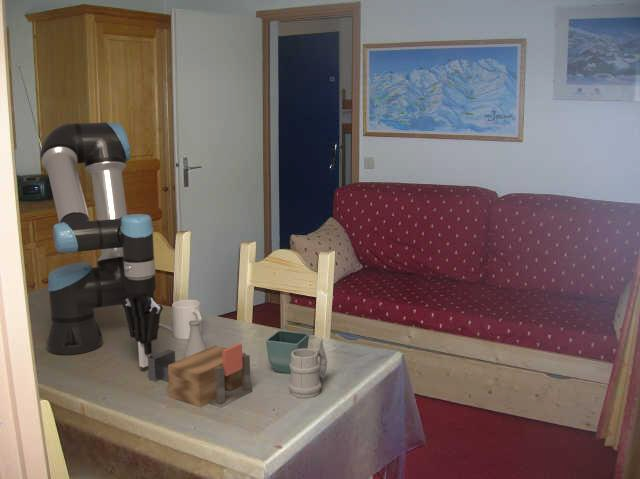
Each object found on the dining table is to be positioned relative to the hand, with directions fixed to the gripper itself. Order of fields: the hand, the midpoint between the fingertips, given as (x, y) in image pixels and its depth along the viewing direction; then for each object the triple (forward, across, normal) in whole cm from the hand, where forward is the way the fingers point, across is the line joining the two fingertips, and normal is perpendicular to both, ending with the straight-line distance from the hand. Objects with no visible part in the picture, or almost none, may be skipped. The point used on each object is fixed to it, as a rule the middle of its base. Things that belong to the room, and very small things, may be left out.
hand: (145, 365), depth 179 cm
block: (+2, +24, 0) cm, 24 cm away
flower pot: (+2, +30, +21) cm, 37 cm away
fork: (+2, -28, +29) cm, 40 cm away
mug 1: (+2, -10, +26) cm, 28 cm away
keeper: (-5, +30, 0) cm, 31 cm away
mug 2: (+2, +42, +14) cm, 44 cm away
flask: (+2, +3, +15) cm, 16 cm away
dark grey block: (+2, +11, 0) cm, 11 cm away
